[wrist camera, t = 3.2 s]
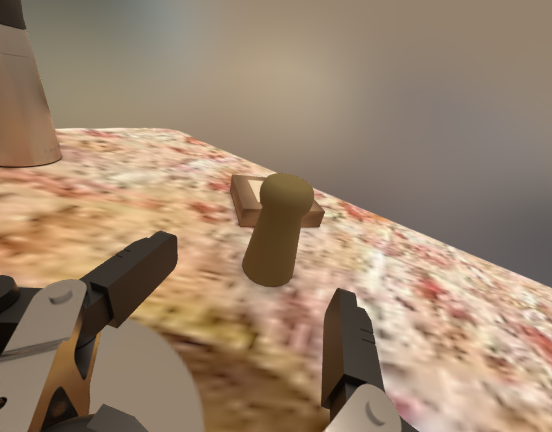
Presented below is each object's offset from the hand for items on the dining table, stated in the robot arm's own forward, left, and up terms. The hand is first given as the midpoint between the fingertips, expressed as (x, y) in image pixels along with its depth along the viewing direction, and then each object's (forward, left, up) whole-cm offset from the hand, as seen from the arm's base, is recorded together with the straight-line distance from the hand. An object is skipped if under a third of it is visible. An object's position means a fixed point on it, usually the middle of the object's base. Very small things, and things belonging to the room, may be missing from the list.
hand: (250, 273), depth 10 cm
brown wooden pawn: (+6, +10, -10) cm, 15 cm away
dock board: (+10, +24, -10) cm, 28 cm away
